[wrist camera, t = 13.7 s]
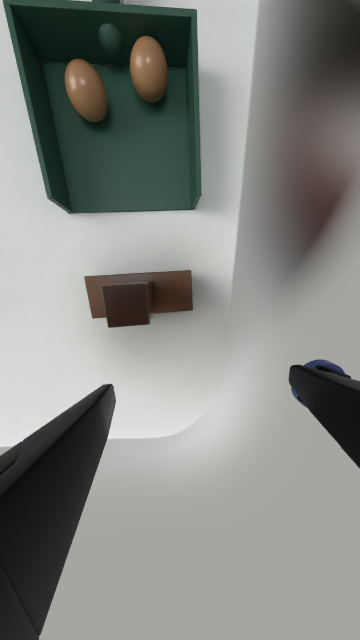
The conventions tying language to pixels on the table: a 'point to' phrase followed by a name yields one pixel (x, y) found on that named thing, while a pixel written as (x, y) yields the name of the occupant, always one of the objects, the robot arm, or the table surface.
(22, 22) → the dustpan
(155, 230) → the table surface
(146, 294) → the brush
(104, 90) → the brown egg
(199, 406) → the table surface
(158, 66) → the brown ball
